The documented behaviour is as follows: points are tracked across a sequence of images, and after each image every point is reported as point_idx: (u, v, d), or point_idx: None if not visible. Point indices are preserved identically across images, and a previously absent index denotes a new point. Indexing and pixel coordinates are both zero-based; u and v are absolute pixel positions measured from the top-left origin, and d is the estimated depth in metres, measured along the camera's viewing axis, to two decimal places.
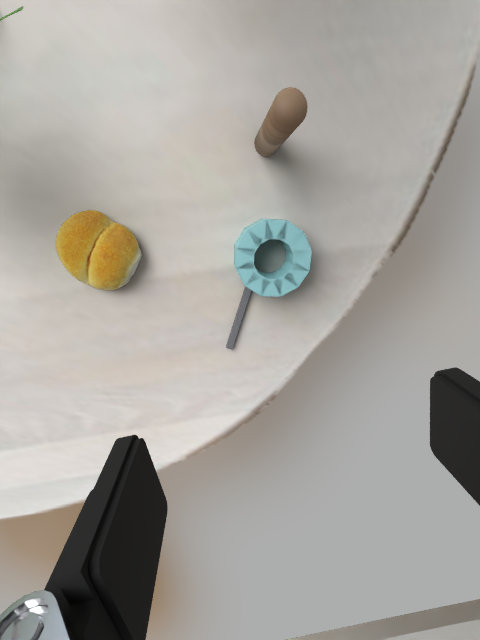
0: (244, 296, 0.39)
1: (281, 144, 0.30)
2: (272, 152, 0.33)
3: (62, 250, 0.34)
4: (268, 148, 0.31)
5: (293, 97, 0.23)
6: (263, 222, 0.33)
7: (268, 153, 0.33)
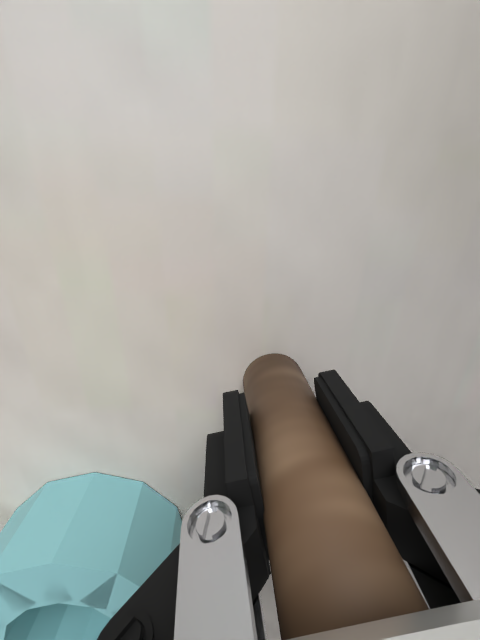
0: None
1: None
2: None
3: None
4: None
5: None
6: (105, 574, 0.11)
7: None
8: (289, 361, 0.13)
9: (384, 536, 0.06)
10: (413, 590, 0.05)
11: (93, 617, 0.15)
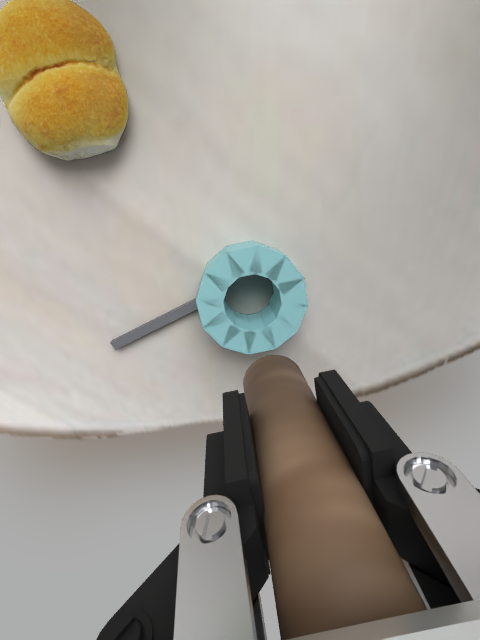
0: (183, 308, 0.27)
1: None
2: None
3: (5, 20, 0.18)
4: None
5: None
6: (280, 255, 0.23)
7: None
8: (289, 363, 0.13)
9: (385, 540, 0.06)
10: (414, 595, 0.05)
11: (250, 322, 0.26)
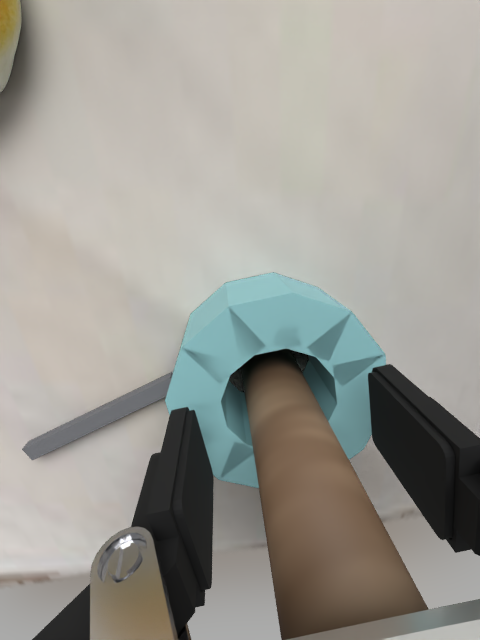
0: (150, 391, 0.15)
1: None
2: None
3: None
4: None
5: None
6: (340, 312, 0.11)
7: None
8: None
9: (339, 451, 0.08)
10: (355, 479, 0.07)
11: None
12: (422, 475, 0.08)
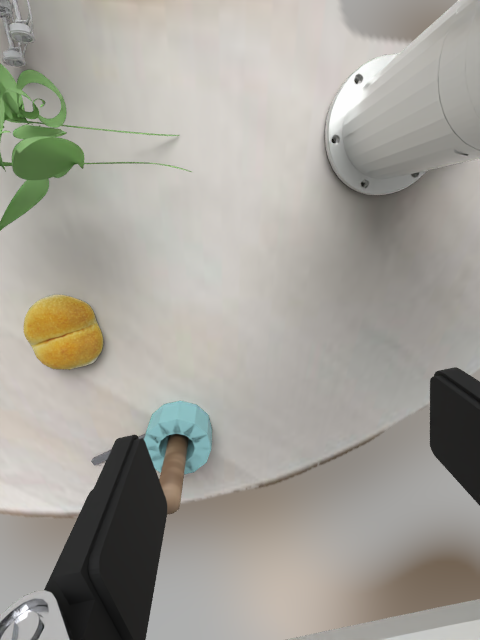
0: None
1: None
2: None
3: (33, 319, 0.34)
4: None
5: (173, 501, 0.32)
6: (191, 423, 0.38)
7: None
8: None
9: (179, 464, 0.35)
10: (178, 470, 0.34)
11: None
12: None
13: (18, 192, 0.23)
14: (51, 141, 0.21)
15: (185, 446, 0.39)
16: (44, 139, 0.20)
